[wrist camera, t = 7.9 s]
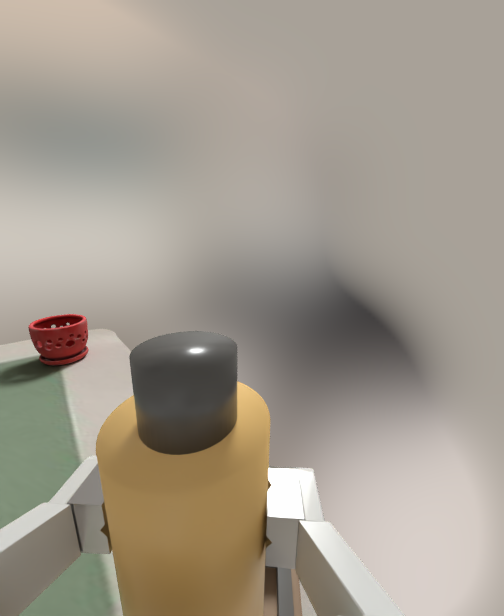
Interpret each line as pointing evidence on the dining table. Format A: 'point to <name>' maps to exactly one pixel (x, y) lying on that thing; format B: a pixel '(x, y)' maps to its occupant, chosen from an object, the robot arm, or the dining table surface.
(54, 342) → the plant pot
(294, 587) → the walnut stand
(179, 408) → the yellow bottle
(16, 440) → the dining table surface
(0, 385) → the dining table surface
